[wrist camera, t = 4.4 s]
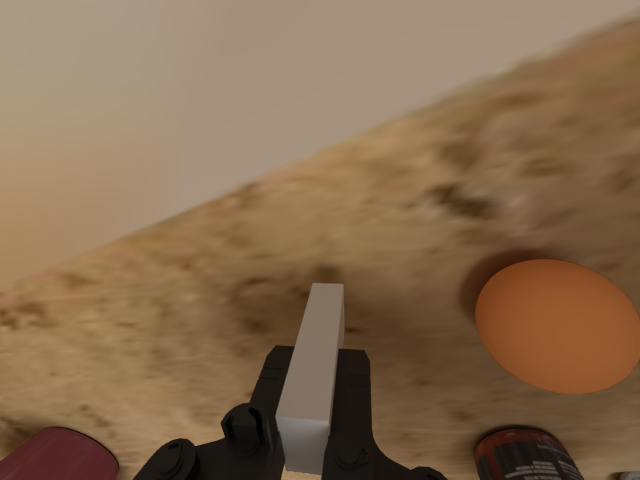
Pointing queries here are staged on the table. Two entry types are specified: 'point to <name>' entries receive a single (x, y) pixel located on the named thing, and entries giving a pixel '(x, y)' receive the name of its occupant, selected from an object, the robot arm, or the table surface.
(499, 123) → the table surface
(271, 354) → the robot arm
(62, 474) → the plant pot
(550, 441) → the supplement bottle
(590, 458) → the table surface
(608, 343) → the orange egg
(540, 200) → the table surface
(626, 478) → the turbocharger housing
